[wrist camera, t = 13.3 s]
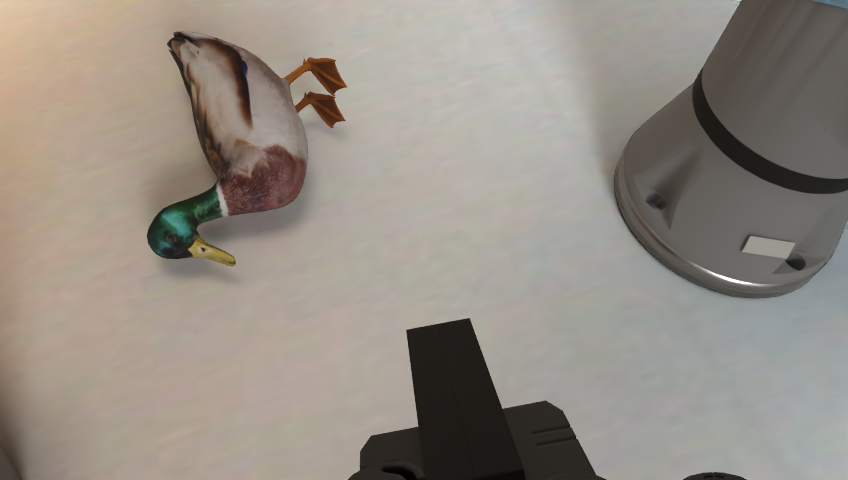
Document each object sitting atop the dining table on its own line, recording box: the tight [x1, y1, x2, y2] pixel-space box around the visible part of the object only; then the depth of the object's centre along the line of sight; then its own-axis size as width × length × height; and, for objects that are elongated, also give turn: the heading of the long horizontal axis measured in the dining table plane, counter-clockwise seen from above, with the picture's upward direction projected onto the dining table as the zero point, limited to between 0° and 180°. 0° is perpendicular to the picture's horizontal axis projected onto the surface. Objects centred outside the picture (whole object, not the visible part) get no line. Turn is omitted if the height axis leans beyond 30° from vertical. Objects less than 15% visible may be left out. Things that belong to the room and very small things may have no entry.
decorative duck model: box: [147, 32, 347, 266], centre depth 46 cm, size 15×8×15 cm
